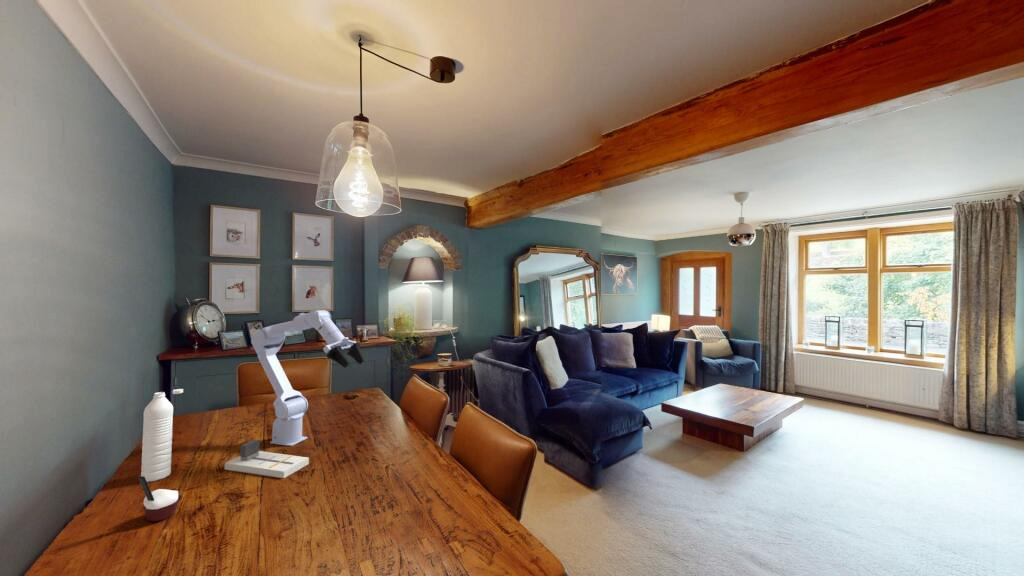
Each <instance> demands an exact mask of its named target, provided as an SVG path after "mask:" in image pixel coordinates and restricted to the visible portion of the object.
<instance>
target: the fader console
mask: <svg viewBox="0 0 1024 576" xmlns="http://www.w3.org/2000/svg"><path fill="white" fill-rule="evenodd" d="M309 464H310V457H308V456H307V457H306V456H298V455H293V454H292V455H291V454H285V453H284V454H283V453H279V452H278V453H276V452H271V451H270V452H269V451H262V450H261V451H260V450H259V455H258V456H256V457H254V458H252V459H250V460H243V459H240V455H239V456H237V457H234V458H232V459H231V460H228V461H226V462H224V470H227V471H232V472H240V473H248V474H254V475H258V476H259V475H260V476H266V477H272V478H278V479H279V478H280V479H285V478H288V477H289V476H290V475H292V474H294V473H296V472H297V471H299V470H300V469H302V468H305V467H306V466H307V465H309Z"/></svg>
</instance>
